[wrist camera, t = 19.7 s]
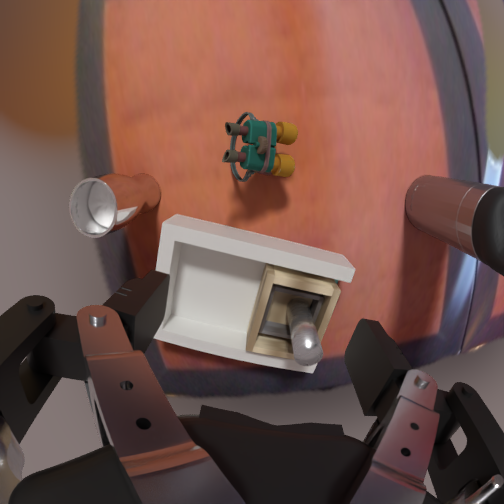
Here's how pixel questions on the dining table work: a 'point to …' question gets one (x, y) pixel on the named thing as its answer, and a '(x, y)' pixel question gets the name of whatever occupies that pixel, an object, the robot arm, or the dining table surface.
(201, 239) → the bay
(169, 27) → the dining table surface
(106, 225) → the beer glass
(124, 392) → the robot arm
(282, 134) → the binoculars
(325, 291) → the box
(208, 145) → the dining table surface
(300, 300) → the handle peg
